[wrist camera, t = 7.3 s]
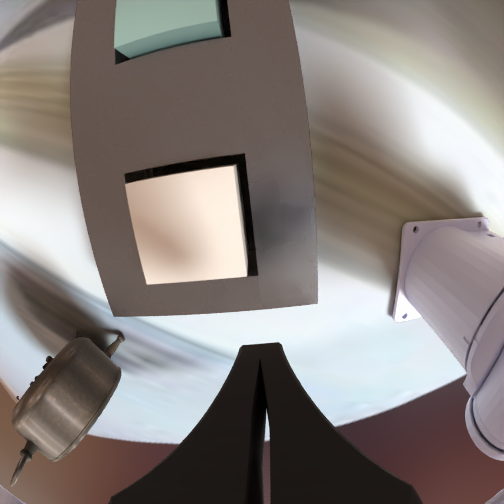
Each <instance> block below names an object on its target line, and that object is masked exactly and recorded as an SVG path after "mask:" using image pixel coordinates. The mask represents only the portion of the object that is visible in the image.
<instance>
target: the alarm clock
mask: <svg viewBox="0 0 504 504" xmlns="http://www.w3.org/2000/svg"><path fill="white" fill-rule="evenodd" d="M124 340H125V338H124V336H123V335H119V336H118V337H117V340H116V341H114V342H113V343H112V344H111V345H110V346H109V347H108V348H107V349H106V350H105V351H101V350H100V349H99V348H98V347H97V346H96V345H95V344H94V343H93V342H92V341H91V340H90V339H88V338H85V337H79V338H77V332H76V331H75V333H74V339H73V340H72V341H70V342H69V343H68V344H67V345H66V346H65V347H64V348H63V349H62V350H61V351H60V352H59V353H58V354H57V356H56V357H55V358H54V359H53V358H52V357H51V356H48V357H47V358H46V362H47V363H46V364H45V365H44V366H43V369H44V370H43V371H42V372H41V373H40V375H39V376H36V377H35V381H34V382H33V381H32V382H31V383H30V387H29V388H28V390H27V391H26V392H25V394H24V395H23V396H22V398H21V399H20V400H19V396H17V397H16V398H17V399H18V400H19V402H18V403H17V405H16V406H15V408H14V410H13V413H12V423H13V426H14V428H15V430H16V431H17V432H18V433H19V434H20V435H21V436H22V437H23V438H24V439H25V440H26V441H27V443H26V445H25V448H24V449H22V450H21V451H20V454H21V456H22V457H21V459H20V461H19V463H18V465H17V467H16V470H15V472H14V474H13V477H12V480H11V483H10V484H11V486H14V484H15V483H16V481H17V480H18V477H19V475H20V473H21V471H22V469H23V466H24V464H25V462H26V461H30V460H31V459H32V455H33V454H34V453H35V452H36V451H37V450H38V451H39V452H41V453H42V454H43V455H44V456H45V457H47V458H48V459H49V460H50V461H52V462H56V461H59V460H60V459H62V458H63V457H65V456H66V455H67V454H68V453H69V452H71V450H73V449H74V448H75V447H76V446H77V445H78V444H79V442H80V441H81V440H82V439H83V437H84V436H85V435H86V434H87V433H88V431H89V430H90V429H91V427H92V426H93V424H94V423H95V422H96V420H97V419H98V417H99V416H100V415H101V413H102V411H103V410H104V408H105V407H106V405H107V404H108V402H109V400H110V398H111V397H112V395H113V393H114V391H115V390H116V388H117V386H118V383H119V381H120V379H121V368H120V367H118V366H117V365H116V364H115V363H113V362H112V361H111V359H110V358H111V355H112V354H113V353H114V352H115V351H116V349H117V347H118V346H119V344H120V343H121V342H123V341H124Z"/></svg>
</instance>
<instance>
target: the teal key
mask: <svg viewBox="0 0 504 504" xmlns="http://www.w3.org/2000/svg"><path fill="white" fill-rule="evenodd" d="M219 38H224V29H223V20H222V11H221V2H220V0H117V2H116V14H115V32H114V48H115V49H116V50H118V51H119V52H121V53H122V54H124V55H125V56H127V57H128V58H130V59H134V58H137V57H140V56H143V55H147V54H150V53H154V52H157V51H161V50H165V49H169V48H173V47H177V46H181V45H186V44H191V43H196V42H201V41H207V40H213V39H219Z"/></svg>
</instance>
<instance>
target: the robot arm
mask: <svg viewBox="0 0 504 504" xmlns="http://www.w3.org/2000/svg"><path fill="white" fill-rule="evenodd" d="M415 226H416V230H415V231H414V232H413V228H414V227H415ZM403 314H405V315H404V316H403ZM419 317H422V318H423V319H424V320H425V321H426V322H427V323H428V325H429V326H430V327H431V328H432V329H433V330H434V332H435V333H436V334H437V335H438V336H439V338H440V339H441V340H442V341H443V343H444V344H445V345H446V346H447V348H448V349H449V350H450V351H451V353H452V354H453V355H454V356H455V358H456V359H457V360H458V361H459V363H460V364H461V365H462V367H463V368H464V369H465V371H466V372H467V377H466V380H465V382H464V384H463V385H464V386H465V388H466V390H467V391H468V392H469V394H470V395H471V397H470V398H469V401H468V403H467V406H466V413H465V419H466V425H467V429H468V432H469V434H470V436H471V438H472V440H473V441H474V443H475V444H476V446H477V447H478V448H479V449H480V450H481V451H482V452H483V453H485V454H486V455H488V456H489V457H492V458H494V459H497V460H502V461H504V238H503V237H501V236H499V235H497V234H495V233H493V232H491V231H489V219H488V218H486V217H477V218H460V219H445V220H430V221H416V222H407V223H405V224H404V225H403V228H402V240H401V254H400V265H399V274H398V282H397V290H396V297H395V304H394V310H393V320H394V321H395V322H402V321H406V320H411V319H415V318H419ZM266 408H267V414H268V421H269V428H270V471H271V472H270V477H271V479H270V480H271V481H270V482H271V504H423V503H422V501H421V499H420V497H419V495H418V494H417V492H416V490H415V489H414V487H413V486H412V485H411V484H409V483H407V482H406V481H404V480H402V479H400V478H398V477H397V476H395V475H393V474H392V473H390V472H389V471H387V470H386V469H384V468H383V467H381V466H380V465H378V464H377V463H375V462H374V461H373V460H371V459H370V458H369V457H367V456H366V455H365V454H364V453H363V452H361V451H360V450H359V449H358V448H357V447H355V446H354V445H353V444H352V443H351V442H350V441H349V440H347V439H346V438H345V437H344V436H343V435H342V434H341V433H340V432H339V431H338V430H337V429H336V428H335V427H334V426H333V425H332V424H331V422H330V421H329V420H328V419H327V418H326V417H325V416H324V415H323V413H322V412H321V411H320V410H319V409H318V407H317V406H316V405H315V403H314V402H313V401H312V399H311V398H310V397H309V395H308V394H307V392H306V391H305V390H304V388H303V387H302V385H301V383H300V382H299V380H298V379H297V377H296V375H295V374H294V372H293V370H292V368H291V366H290V364H289V362H288V360H287V358H286V356H285V353H284V351H283V348H282V345H281V344H280V343H279V342H277V343H266V344H254V345H242V346H241V347H240V349H239V352H238V355H237V357H236V360H235V362H234V365H233V367H232V369H231V371H230V373H229V375H228V377H227V379H226V381H225V382H224V384H223V386H222V388H221V390H220V392H219V393H218V395H217V396H216V398H215V399H214V401H213V403H212V404H211V406H210V407H209V409H208V410H207V412H206V413H205V414H204V416H203V417H202V419H201V420H200V421H199V422H198V424H197V425H196V426H195V427H194V429H193V430H192V431H191V432H190V433H189V435H188V436H187V437H186V438H185V439H184V440H183V441H182V442H181V443H180V444H179V445H178V447H177V448H176V449H175V450H174V451H173V452H171V453H170V454H169V455H168V456H167V457H166V458H165V459H164V460H163V461H161V462H160V463H159V464H158V465H157V466H155V467H154V468H153V469H152V470H151V471H149V472H148V473H147V474H146V475H144V476H143V477H142V478H140V479H139V480H137V481H136V482H134V483H133V484H131V485H130V486H128V487H126V488H125V489H123V490H122V491H120V492H118V493H117V494H115V495H114V496H112V497H111V499H110V501H109V503H108V504H264V493H263V492H264V491H263V453H264V439H265V424H266ZM0 504H26V503H24V502H22V501H21V500H20V499H18V498H17V497H15V496H14V495H13V494H11V493H10V492H9V491H7V490H6V489H5V488H3V487H2V486H1V485H0ZM485 504H504V489H502V490H501V491H500V492H499V493H497V494H496V495H495V496H494V497H493V498H491V499H490V500H489V501H488V502H486V503H485Z"/></svg>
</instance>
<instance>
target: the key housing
mask: <svg viewBox="0 0 504 504" xmlns="http://www.w3.org/2000/svg"><path fill="white" fill-rule="evenodd" d="M116 2H117V0H78V3H77V9H76V15H75V22H74V30H73V40H72V53H71V75H70V100H71V123H72V137H73V147H74V156H75V164H76V172H77V178H78V185H79V191H80V196H81V202H82V207H83V212H84V217H85V221H86V226H87V230H88V234H89V238H90V242H91V246H92V250H93V254H94V257H95V261H96V264H97V268H98V271H99V274H100V278H101V281H102V284H103V287H104V290H105V293H106V296H107V299H108V302H109V305H110V308H111V310H112V313H113V316H114V317H131V316H169V315H192V314H209V313H225V312H238V311H250V310H262V309H272V308H282V307H292V306H301V305H310V304H318V271H317V233H316V211H315V194H314V179H313V167H312V155H311V144H310V134H309V125H308V116H307V108H306V100H305V92H304V85H303V78H302V71H301V65H300V59H299V53H298V47H297V41H296V35H295V30H294V25H293V20H292V15H291V10H290V5H289V1H288V0H227V4H228V12H229V20H230V29H231V37H226V38H219V39H213V40H207V41H201V42H196V43H191V44H186V45H181V46H177V47H173V48H169V49H165V50H161V51H157V52H154V53H150V54H147V55H143V56H140V57H137V58H134V59H130V58H128V57H127V56H125V55H124V54H122V53H121V52H119V51H118V50H116V49H115V48H114V32H115V14H116ZM241 154H245V158H246V167H247V176H248V185H249V194H250V203H251V212H252V221H253V230H254V239H255V248H256V249H255V250H248V267H247V277H236V278H225V279H213V280H201V281H189V282H176V283H162V284H148V285H147V283H146V279H145V276H144V272H143V268H142V264H141V260H140V256H139V252H138V248H137V243H136V239H135V234H134V230H133V225H132V220H131V215H130V210H129V205H128V199H127V193H126V187H125V184H128V183H131V182H135V181H138V180H142V179H146V178H150V177H153V173H152V168H157V167H162V166H168V165H173V164H179V163H185V162H191V161H197V160H203V159H210V158H217V157H225V156H233V155H241Z"/></svg>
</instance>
